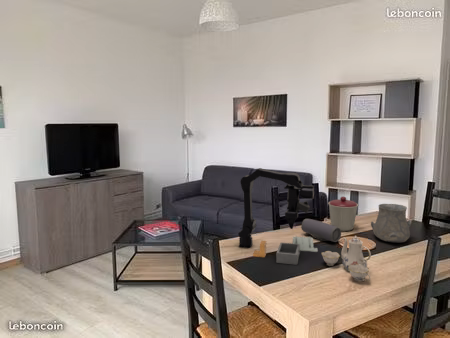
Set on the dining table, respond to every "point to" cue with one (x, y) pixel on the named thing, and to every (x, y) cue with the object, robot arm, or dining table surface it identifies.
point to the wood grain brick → (261, 250)
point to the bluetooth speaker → (321, 230)
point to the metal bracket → (305, 243)
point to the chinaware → (350, 258)
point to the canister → (343, 213)
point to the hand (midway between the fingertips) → (292, 226)
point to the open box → (288, 253)
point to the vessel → (392, 223)
